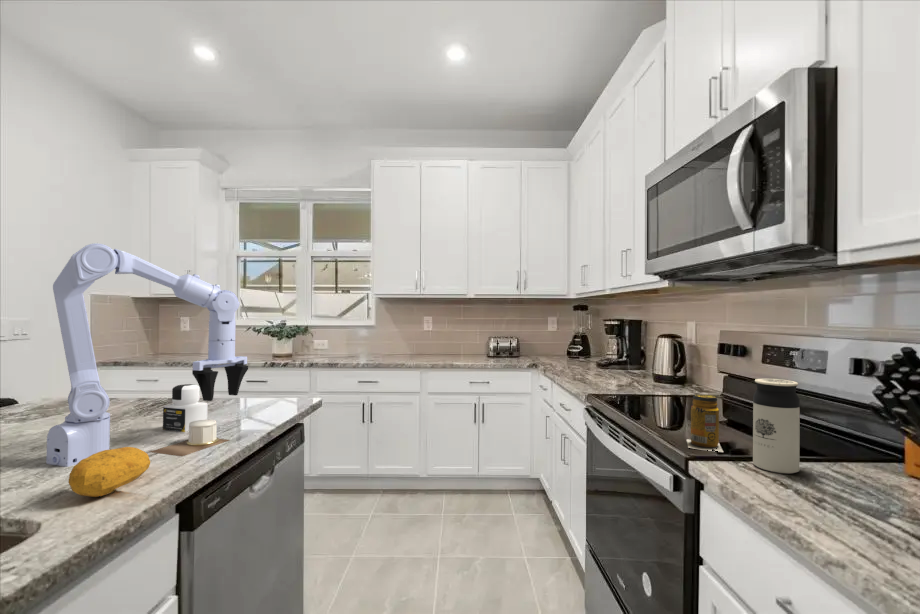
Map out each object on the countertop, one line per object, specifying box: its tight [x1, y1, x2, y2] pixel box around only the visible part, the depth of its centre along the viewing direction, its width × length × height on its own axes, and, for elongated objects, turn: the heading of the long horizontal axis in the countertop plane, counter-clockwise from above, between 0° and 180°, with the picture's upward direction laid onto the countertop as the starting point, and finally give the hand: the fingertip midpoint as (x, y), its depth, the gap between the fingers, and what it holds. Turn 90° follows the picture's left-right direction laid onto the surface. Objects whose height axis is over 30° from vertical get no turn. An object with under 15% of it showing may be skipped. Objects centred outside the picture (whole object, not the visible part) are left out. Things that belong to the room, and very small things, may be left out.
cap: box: [188, 419, 218, 444], centre depth 106 cm, size 5×5×4 cm
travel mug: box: [752, 378, 801, 475], centre depth 97 cm, size 8×8×18 cm
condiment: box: [686, 393, 724, 453], centre depth 112 cm, size 7×8×12 cm
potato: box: [68, 446, 151, 498], centre depth 80 cm, size 8×14×7 cm, turn 172°
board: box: [149, 438, 231, 457], centre depth 103 cm, size 13×9×1 cm
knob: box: [186, 437, 220, 446], centre depth 106 cm, size 6×6×3 cm
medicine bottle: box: [162, 383, 209, 433], centre depth 119 cm, size 7×7×12 cm
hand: (220, 397), depth 111 cm, fingers open, 7 cm apart
